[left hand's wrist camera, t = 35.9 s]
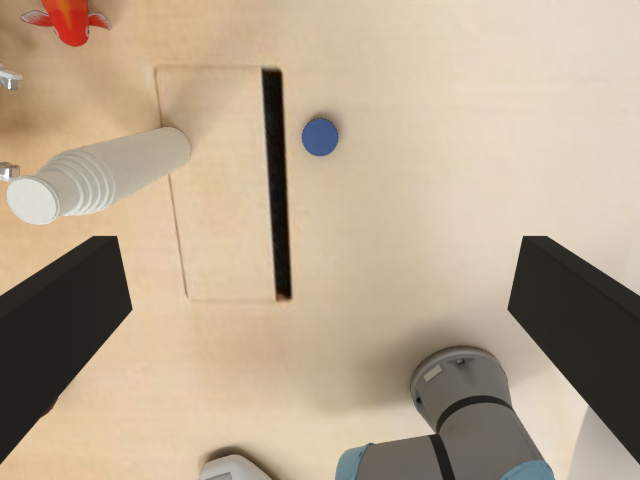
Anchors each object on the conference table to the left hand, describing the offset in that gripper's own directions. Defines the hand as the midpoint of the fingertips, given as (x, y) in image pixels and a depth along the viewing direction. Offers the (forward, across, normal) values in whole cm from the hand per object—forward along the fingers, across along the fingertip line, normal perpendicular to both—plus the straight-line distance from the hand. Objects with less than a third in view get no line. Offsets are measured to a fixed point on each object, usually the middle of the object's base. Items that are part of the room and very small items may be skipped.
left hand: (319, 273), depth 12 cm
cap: (+37, 0, 0) cm, 37 cm away
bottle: (+38, +19, +1) cm, 43 cm away
